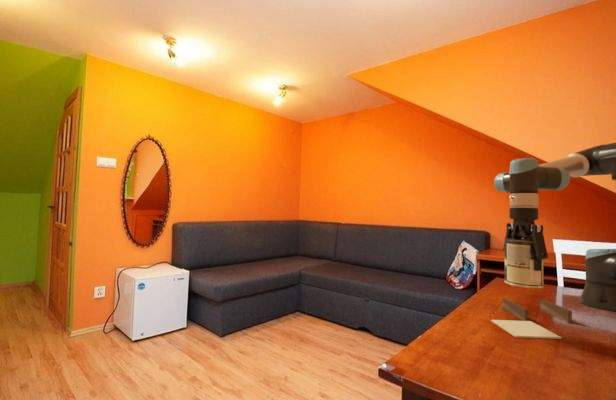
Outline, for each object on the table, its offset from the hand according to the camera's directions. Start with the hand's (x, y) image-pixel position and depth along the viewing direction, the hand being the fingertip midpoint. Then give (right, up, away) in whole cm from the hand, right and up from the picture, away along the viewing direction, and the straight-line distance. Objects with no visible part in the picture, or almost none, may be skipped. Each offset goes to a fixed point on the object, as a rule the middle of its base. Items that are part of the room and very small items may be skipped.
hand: (523, 277), depth 96 cm
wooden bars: (+13, -17, +13) cm, 25 cm away
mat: (0, -16, 0) cm, 16 cm away
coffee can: (0, -2, 0) cm, 2 cm away
